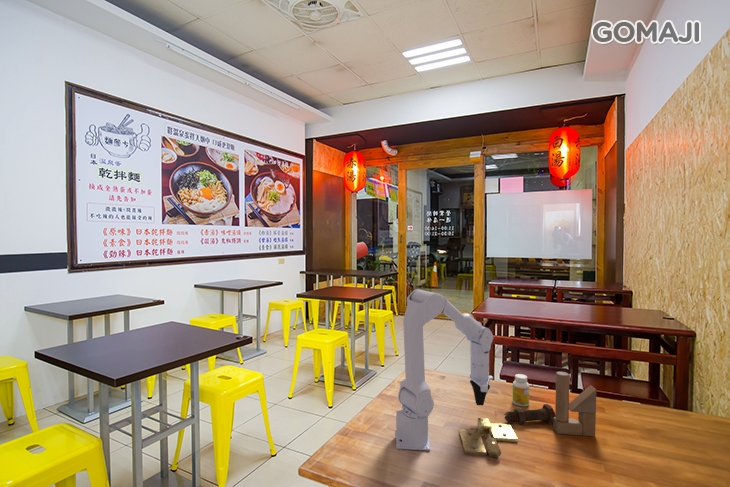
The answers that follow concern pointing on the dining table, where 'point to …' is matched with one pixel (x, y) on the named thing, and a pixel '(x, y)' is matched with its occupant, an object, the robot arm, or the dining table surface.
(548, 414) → the bolt
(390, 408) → the dining table surface
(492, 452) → the fixed leaf
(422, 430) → the robot arm
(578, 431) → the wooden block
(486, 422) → the loose leaf
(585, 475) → the dining table surface
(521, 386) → the supplement bottle
